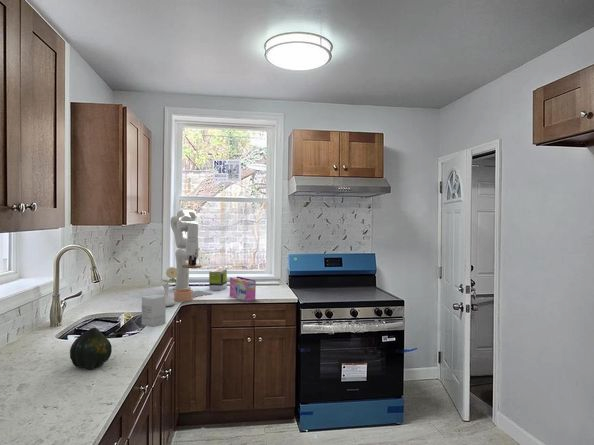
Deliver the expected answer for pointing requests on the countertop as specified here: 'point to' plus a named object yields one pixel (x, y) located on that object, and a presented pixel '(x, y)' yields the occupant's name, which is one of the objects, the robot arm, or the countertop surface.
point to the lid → (191, 265)
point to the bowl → (183, 295)
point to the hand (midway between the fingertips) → (192, 264)
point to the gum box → (242, 288)
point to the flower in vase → (171, 274)
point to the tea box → (217, 279)
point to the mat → (200, 293)
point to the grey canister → (153, 310)
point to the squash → (90, 349)
